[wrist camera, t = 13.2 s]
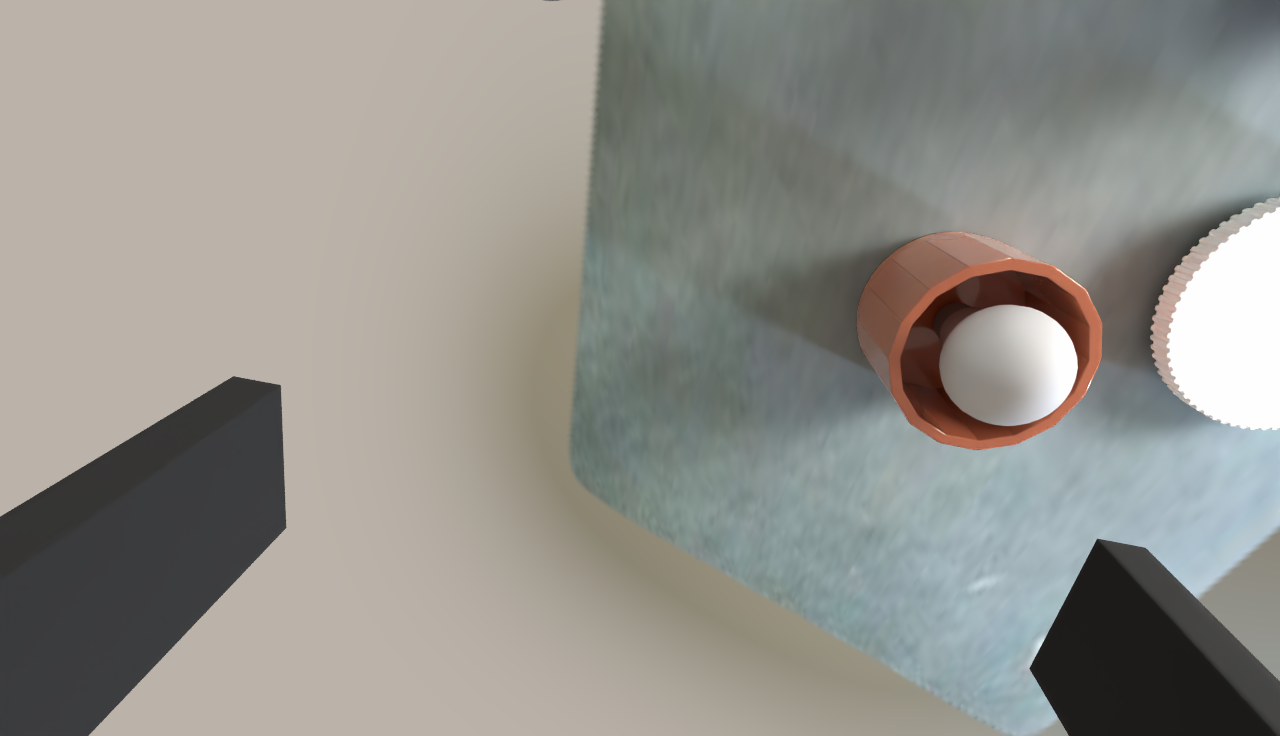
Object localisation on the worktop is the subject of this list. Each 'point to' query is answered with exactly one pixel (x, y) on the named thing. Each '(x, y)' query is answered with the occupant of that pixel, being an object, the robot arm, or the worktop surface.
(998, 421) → the lightbulb
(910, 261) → the holder
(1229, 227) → the plastic lid
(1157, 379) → the worktop surface
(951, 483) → the worktop surface
